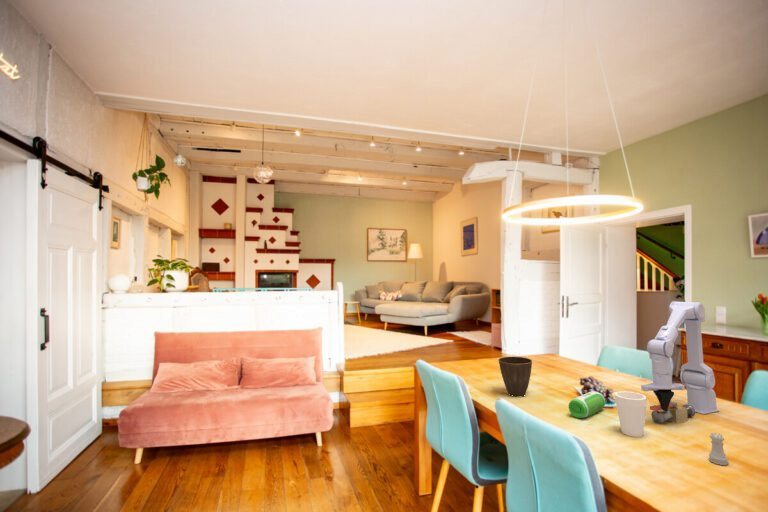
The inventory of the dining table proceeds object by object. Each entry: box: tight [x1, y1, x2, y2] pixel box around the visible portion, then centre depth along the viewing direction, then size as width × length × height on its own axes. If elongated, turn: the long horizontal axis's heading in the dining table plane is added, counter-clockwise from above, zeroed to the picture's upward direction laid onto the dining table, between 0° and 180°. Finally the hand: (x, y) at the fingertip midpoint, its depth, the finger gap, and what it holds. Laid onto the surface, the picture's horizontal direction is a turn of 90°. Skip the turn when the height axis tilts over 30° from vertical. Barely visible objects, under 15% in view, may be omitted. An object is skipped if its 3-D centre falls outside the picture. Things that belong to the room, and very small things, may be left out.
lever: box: [649, 401, 679, 412], centre depth 144 cm, size 12×3×1 cm, turn 110°
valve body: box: [650, 403, 696, 424], centre depth 145 cm, size 17×6×5 cm, turn 109°
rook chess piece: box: [708, 432, 729, 466], centre depth 113 cm, size 4×4×8 cm
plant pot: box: [498, 356, 533, 397], centre depth 180 cm, size 15×15×16 cm
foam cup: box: [614, 390, 648, 438], centre depth 134 cm, size 10×9×13 cm
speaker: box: [568, 390, 607, 419], centre depth 154 cm, size 18×7×8 cm, turn 127°
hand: (664, 410), depth 141 cm, fingers closed, pressing on lever
